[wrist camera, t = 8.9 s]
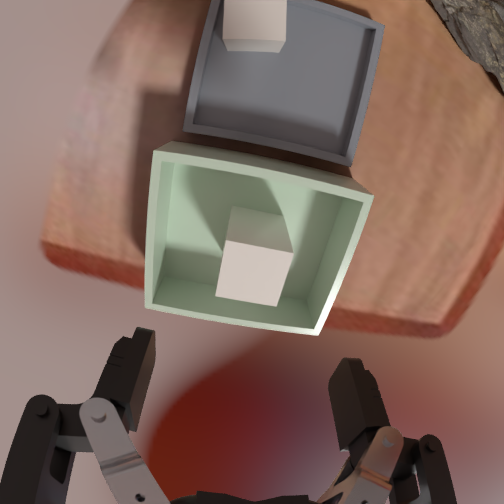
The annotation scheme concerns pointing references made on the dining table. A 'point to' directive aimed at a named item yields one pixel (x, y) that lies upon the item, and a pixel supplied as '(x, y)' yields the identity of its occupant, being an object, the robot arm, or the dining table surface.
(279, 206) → the green bin
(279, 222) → the off-white rectangular block
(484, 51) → the rock
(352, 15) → the slate tray
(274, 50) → the smooth off-white cube
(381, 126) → the dining table surface
